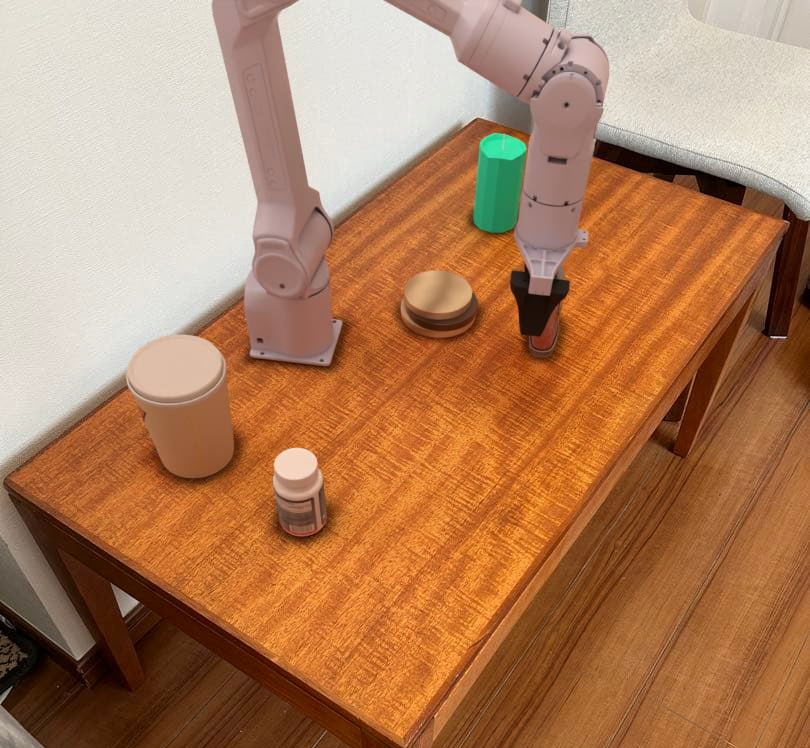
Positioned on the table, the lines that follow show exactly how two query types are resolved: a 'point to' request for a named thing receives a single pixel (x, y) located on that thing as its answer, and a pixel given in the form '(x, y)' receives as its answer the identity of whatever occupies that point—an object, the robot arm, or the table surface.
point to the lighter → (548, 329)
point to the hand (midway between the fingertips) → (533, 309)
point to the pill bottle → (299, 492)
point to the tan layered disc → (438, 304)
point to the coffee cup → (184, 403)
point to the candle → (499, 182)
